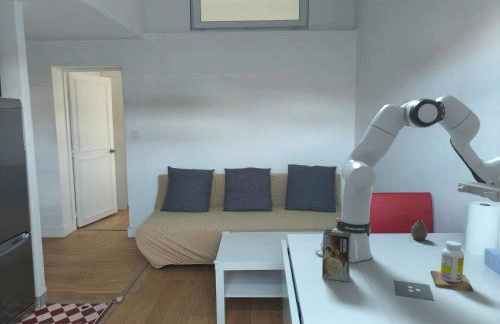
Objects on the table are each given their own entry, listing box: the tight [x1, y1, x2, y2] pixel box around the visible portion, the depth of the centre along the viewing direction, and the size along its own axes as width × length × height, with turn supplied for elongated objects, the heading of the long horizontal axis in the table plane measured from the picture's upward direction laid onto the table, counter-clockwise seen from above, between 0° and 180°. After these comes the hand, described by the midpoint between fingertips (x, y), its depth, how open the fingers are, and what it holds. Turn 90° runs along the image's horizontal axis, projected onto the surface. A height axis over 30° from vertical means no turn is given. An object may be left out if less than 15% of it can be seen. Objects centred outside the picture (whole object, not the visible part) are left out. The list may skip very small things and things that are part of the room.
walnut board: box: [430, 270, 474, 292], centre depth 127 cm, size 11×11×1 cm
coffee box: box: [321, 228, 351, 283], centre depth 129 cm, size 9×6×16 cm
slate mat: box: [393, 279, 435, 301], centre depth 120 cm, size 11×11×1 cm
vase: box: [410, 219, 428, 241], centre depth 170 cm, size 7×7×9 cm
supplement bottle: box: [440, 240, 465, 283], centre depth 126 cm, size 7×7×13 cm
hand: (470, 192), depth 131 cm, fingers open, 8 cm apart
